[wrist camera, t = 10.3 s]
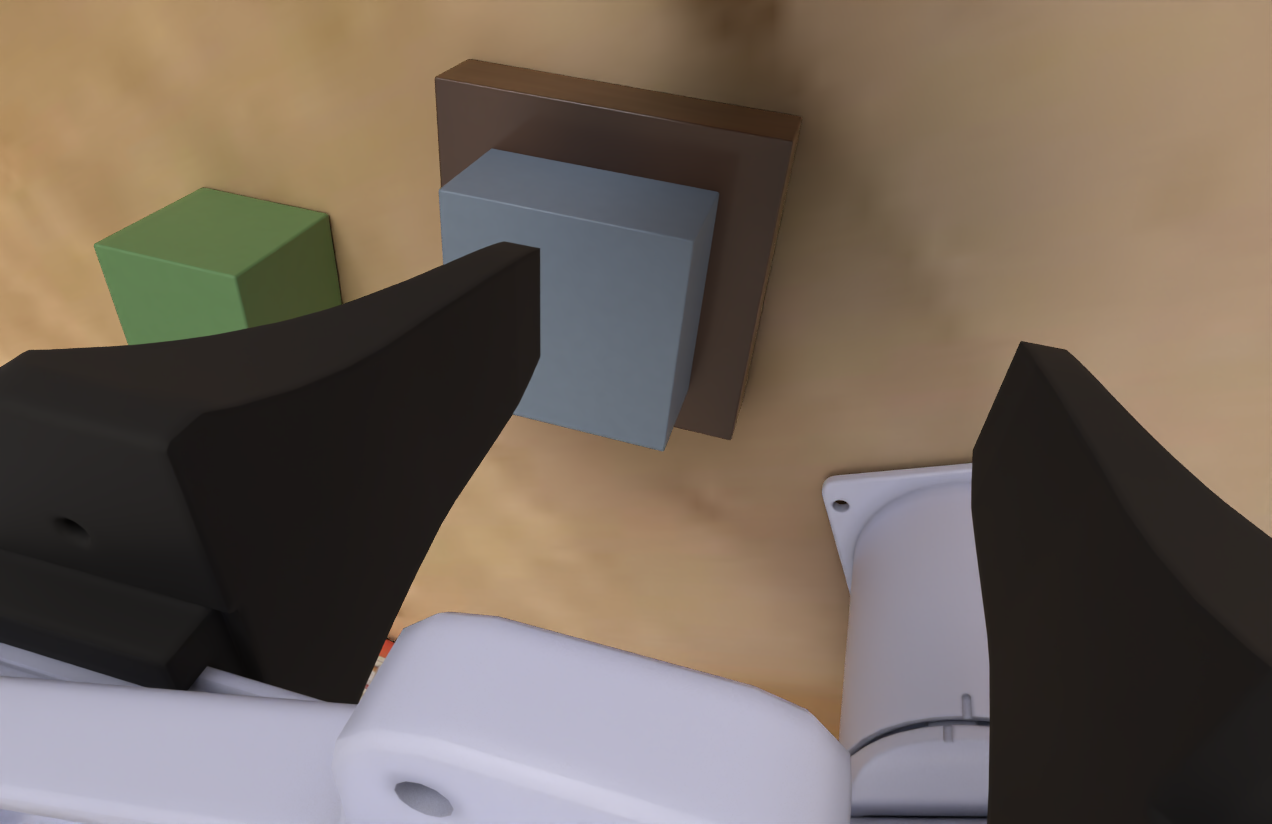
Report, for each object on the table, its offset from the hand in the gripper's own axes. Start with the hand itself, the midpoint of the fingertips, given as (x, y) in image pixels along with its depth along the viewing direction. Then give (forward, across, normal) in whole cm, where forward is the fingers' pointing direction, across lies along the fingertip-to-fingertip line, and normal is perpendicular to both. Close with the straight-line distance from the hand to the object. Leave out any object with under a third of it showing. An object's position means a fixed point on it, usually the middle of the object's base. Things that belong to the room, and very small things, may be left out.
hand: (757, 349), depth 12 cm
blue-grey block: (+8, +5, +4) cm, 11 cm away
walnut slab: (+10, +5, +4) cm, 12 cm away
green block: (+10, +17, +7) cm, 21 cm away
